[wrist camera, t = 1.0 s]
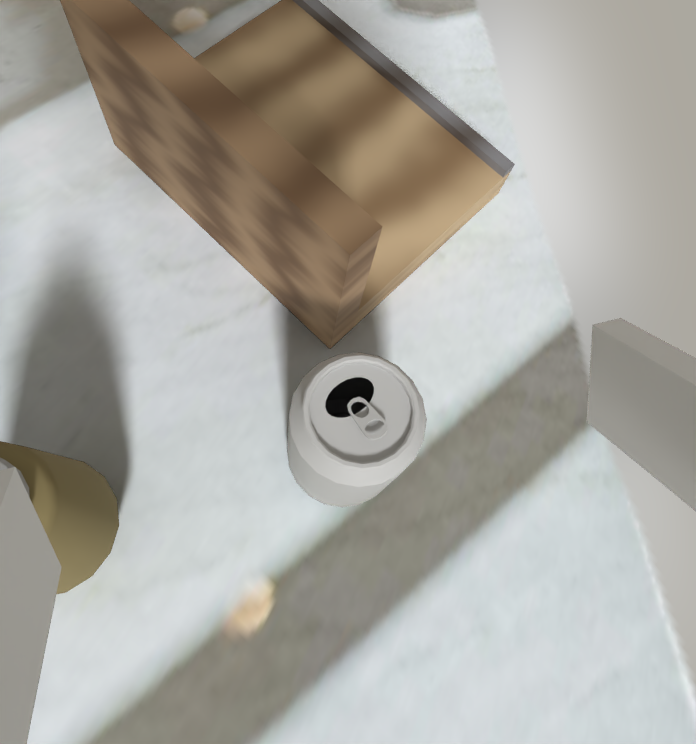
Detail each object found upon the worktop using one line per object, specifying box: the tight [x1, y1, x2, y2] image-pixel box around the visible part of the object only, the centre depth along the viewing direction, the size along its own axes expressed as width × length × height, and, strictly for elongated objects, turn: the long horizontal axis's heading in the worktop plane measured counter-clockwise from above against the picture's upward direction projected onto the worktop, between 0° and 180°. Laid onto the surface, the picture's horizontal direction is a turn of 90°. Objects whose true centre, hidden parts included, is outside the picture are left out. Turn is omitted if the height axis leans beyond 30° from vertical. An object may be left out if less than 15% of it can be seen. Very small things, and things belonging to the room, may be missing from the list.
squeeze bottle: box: [0, 441, 119, 594], centre depth 31 cm, size 8×8×18 cm
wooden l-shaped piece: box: [60, 0, 514, 349], centre depth 44 cm, size 24×20×14 cm
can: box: [287, 352, 427, 507], centre depth 38 cm, size 8×8×12 cm
